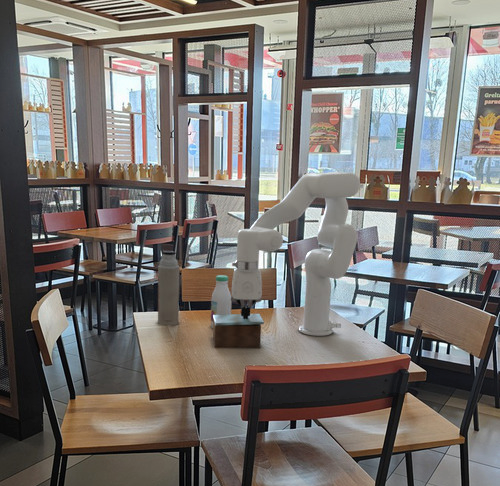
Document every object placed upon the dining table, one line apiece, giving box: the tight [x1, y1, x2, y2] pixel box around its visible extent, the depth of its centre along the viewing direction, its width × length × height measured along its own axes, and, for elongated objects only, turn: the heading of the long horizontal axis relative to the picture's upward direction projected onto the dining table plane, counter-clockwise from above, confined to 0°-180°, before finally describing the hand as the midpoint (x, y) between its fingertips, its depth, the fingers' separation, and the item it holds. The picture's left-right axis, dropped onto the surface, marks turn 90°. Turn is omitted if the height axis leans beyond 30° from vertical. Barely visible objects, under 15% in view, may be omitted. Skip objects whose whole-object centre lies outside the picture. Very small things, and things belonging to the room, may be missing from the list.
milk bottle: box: [210, 274, 232, 329], centre depth 218 cm, size 8×8×20 cm
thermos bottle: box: [157, 250, 180, 327], centre depth 220 cm, size 8×8×28 cm
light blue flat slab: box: [213, 313, 265, 325], centre depth 199 cm, size 16×11×1 cm
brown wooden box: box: [212, 317, 262, 349], centre depth 200 cm, size 16×11×8 cm
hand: (245, 317), depth 199 cm, fingers closed
